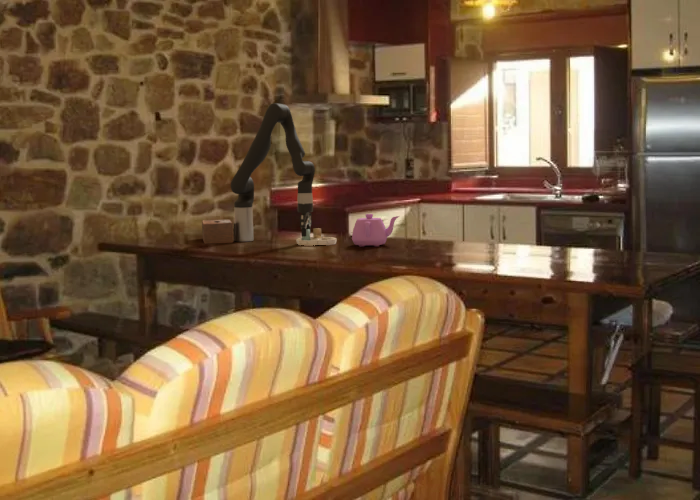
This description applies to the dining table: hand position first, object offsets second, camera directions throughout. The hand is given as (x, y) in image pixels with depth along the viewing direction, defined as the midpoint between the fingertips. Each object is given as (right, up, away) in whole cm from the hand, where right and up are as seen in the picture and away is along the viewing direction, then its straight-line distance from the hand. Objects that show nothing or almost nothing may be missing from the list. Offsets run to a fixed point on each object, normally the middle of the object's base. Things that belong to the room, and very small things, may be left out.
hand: (305, 235), depth 459 cm
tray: (+5, -4, -1) cm, 7 cm away
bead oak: (+5, -3, +5) cm, 8 cm away
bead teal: (0, -3, 0) cm, 3 cm away
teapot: (+32, -5, -12) cm, 34 cm away
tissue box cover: (-47, -3, +26) cm, 53 cm away
